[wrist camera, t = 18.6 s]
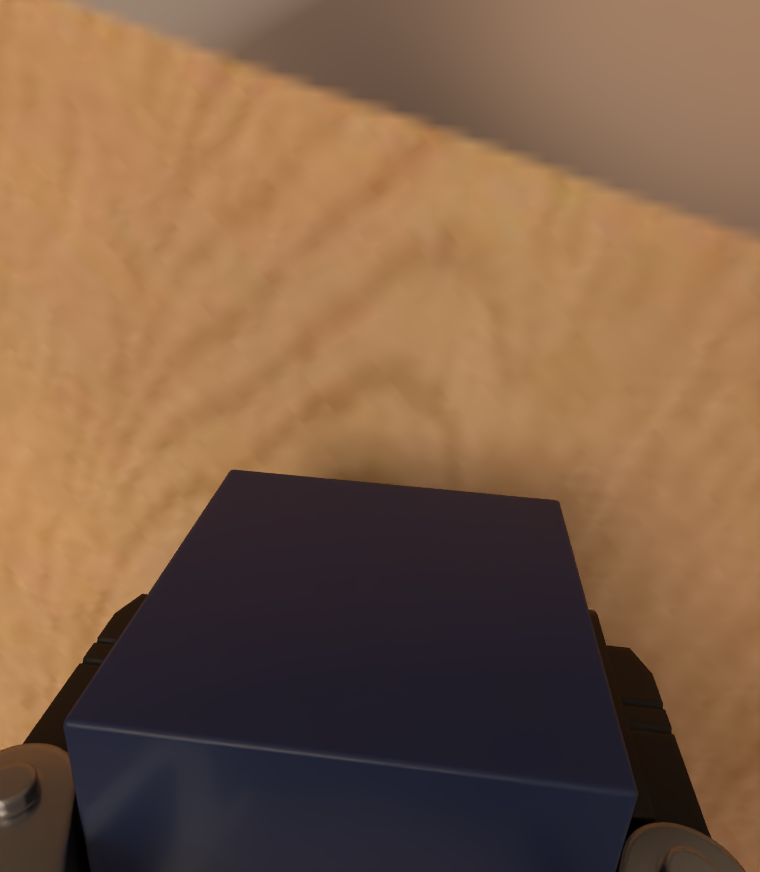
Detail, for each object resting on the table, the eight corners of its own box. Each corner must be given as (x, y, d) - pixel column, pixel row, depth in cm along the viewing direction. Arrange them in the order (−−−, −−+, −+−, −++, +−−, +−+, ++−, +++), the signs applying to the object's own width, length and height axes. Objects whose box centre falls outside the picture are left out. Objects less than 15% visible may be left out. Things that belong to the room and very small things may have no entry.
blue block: (230, 467, 11) (59, 722, 6) (560, 498, 10) (640, 795, 6) (240, 711, 13) (117, 1037, 8) (515, 743, 12) (548, 1105, 8)
